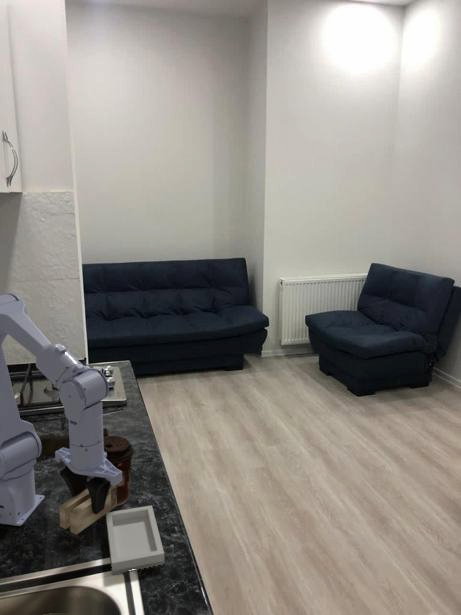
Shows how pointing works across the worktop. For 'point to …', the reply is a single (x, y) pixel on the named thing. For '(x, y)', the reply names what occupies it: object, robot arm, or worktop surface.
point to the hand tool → (58, 442)
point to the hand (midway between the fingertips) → (89, 506)
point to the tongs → (84, 510)
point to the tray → (133, 539)
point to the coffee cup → (120, 463)
